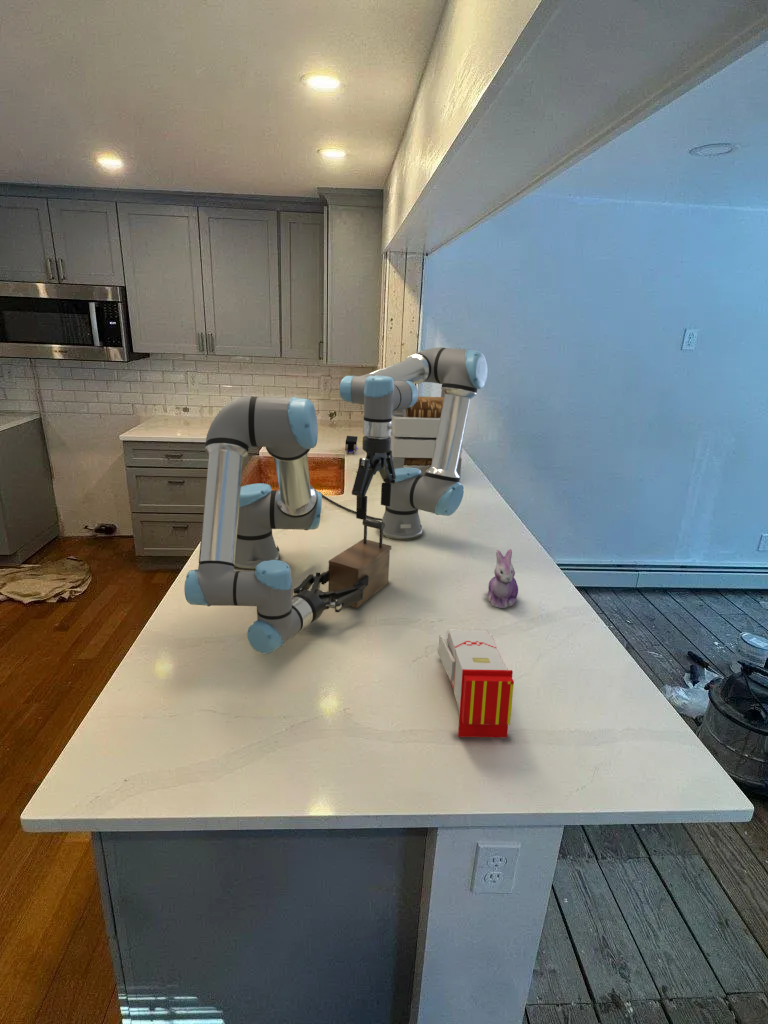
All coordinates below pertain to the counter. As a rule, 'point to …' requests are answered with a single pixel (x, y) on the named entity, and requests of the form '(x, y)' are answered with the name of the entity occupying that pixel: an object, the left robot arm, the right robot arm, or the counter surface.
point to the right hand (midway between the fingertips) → (373, 511)
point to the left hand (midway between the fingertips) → (351, 575)
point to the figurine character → (351, 444)
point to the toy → (478, 682)
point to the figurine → (503, 582)
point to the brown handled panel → (362, 550)
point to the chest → (347, 578)
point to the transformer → (417, 433)
